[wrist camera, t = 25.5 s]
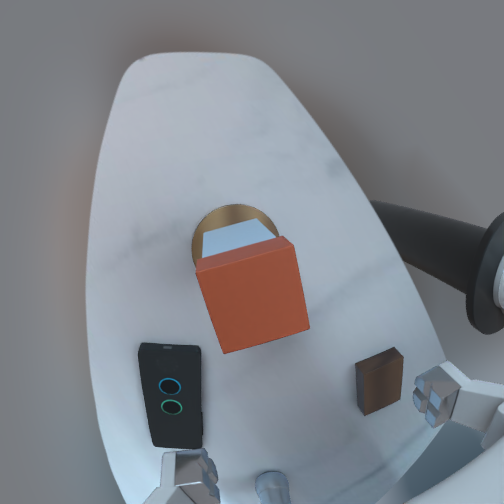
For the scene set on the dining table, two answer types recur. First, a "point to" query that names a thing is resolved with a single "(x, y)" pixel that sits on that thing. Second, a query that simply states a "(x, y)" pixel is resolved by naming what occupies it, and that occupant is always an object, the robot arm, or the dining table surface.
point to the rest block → (379, 381)
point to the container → (251, 285)
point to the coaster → (227, 223)
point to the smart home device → (172, 394)
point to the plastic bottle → (273, 488)
